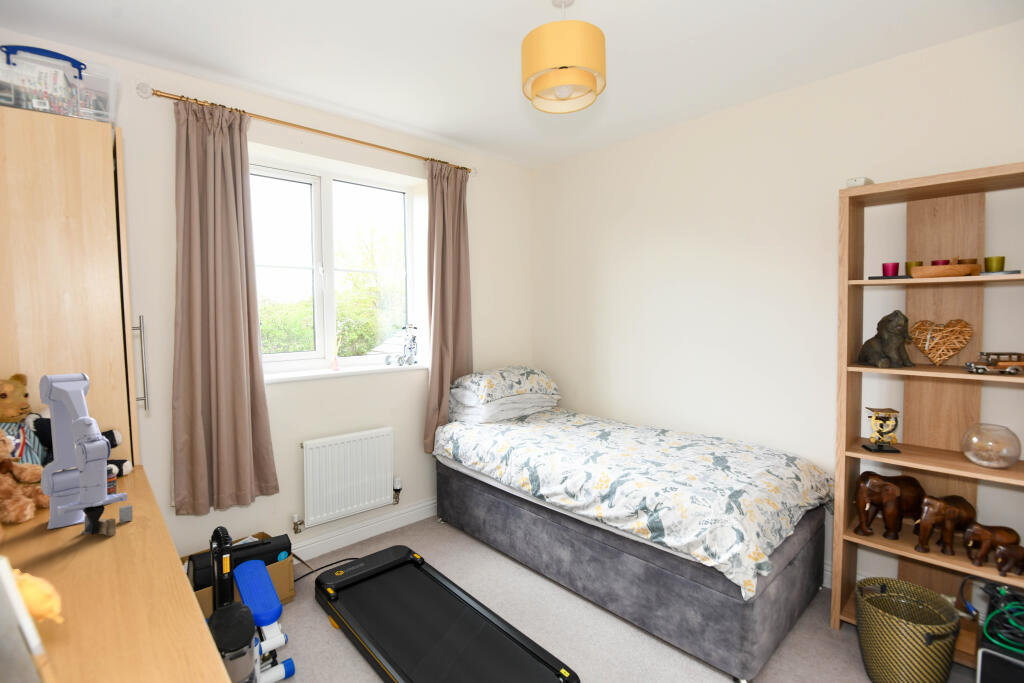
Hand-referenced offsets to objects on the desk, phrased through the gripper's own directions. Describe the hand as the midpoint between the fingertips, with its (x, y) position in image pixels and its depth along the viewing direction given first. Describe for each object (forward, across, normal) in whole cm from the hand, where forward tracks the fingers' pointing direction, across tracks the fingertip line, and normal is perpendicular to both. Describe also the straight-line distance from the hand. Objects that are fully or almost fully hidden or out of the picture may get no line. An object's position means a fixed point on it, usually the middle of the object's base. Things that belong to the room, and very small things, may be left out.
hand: (94, 533), depth 134 cm
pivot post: (+1, 0, +5) cm, 5 cm away
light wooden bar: (+1, +2, 0) cm, 2 cm away
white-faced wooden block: (+1, +9, +6) cm, 11 cm away
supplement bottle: (+1, +10, +31) cm, 32 cm away
